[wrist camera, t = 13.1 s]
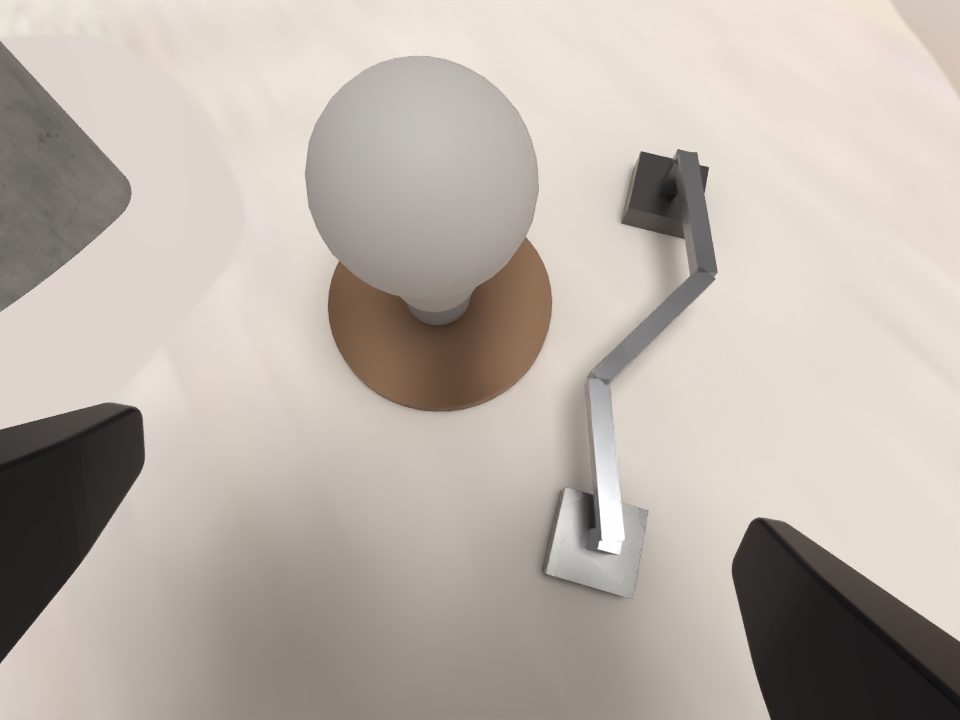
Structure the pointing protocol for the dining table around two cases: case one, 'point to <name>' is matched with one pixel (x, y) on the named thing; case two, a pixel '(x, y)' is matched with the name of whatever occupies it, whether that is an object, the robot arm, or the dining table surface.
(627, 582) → the grey metal bracket
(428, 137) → the lightbulb
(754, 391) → the dining table surface
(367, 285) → the walnut coaster
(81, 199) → the hip flask
